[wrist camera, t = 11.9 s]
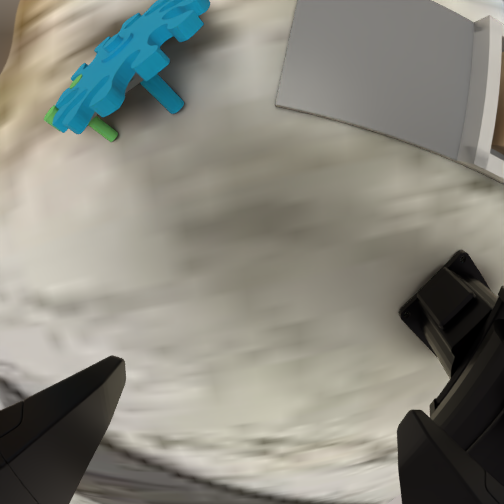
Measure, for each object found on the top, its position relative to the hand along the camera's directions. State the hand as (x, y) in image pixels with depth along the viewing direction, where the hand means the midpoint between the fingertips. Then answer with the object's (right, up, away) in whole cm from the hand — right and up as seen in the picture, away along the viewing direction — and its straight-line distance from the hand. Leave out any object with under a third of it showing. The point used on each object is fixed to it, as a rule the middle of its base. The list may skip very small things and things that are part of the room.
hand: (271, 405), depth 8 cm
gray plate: (+12, +15, +6) cm, 20 cm away
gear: (-7, +16, +8) cm, 19 cm away
